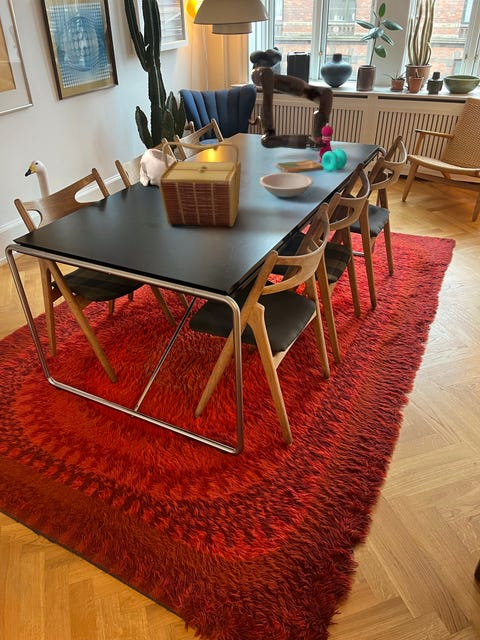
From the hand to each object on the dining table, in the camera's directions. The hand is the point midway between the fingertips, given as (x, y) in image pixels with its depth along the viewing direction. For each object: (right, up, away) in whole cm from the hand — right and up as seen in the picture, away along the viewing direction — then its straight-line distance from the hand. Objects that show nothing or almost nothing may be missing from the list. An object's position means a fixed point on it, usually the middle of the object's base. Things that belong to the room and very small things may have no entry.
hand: (328, 143), depth 254 cm
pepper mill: (-1, -8, +6) cm, 10 cm away
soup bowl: (-26, -37, -37) cm, 59 cm away
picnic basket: (-61, -53, -60) cm, 101 cm away
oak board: (-15, -14, -2) cm, 21 cm away
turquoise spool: (+1, -17, -7) cm, 18 cm away
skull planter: (-86, -28, -21) cm, 93 cm away
